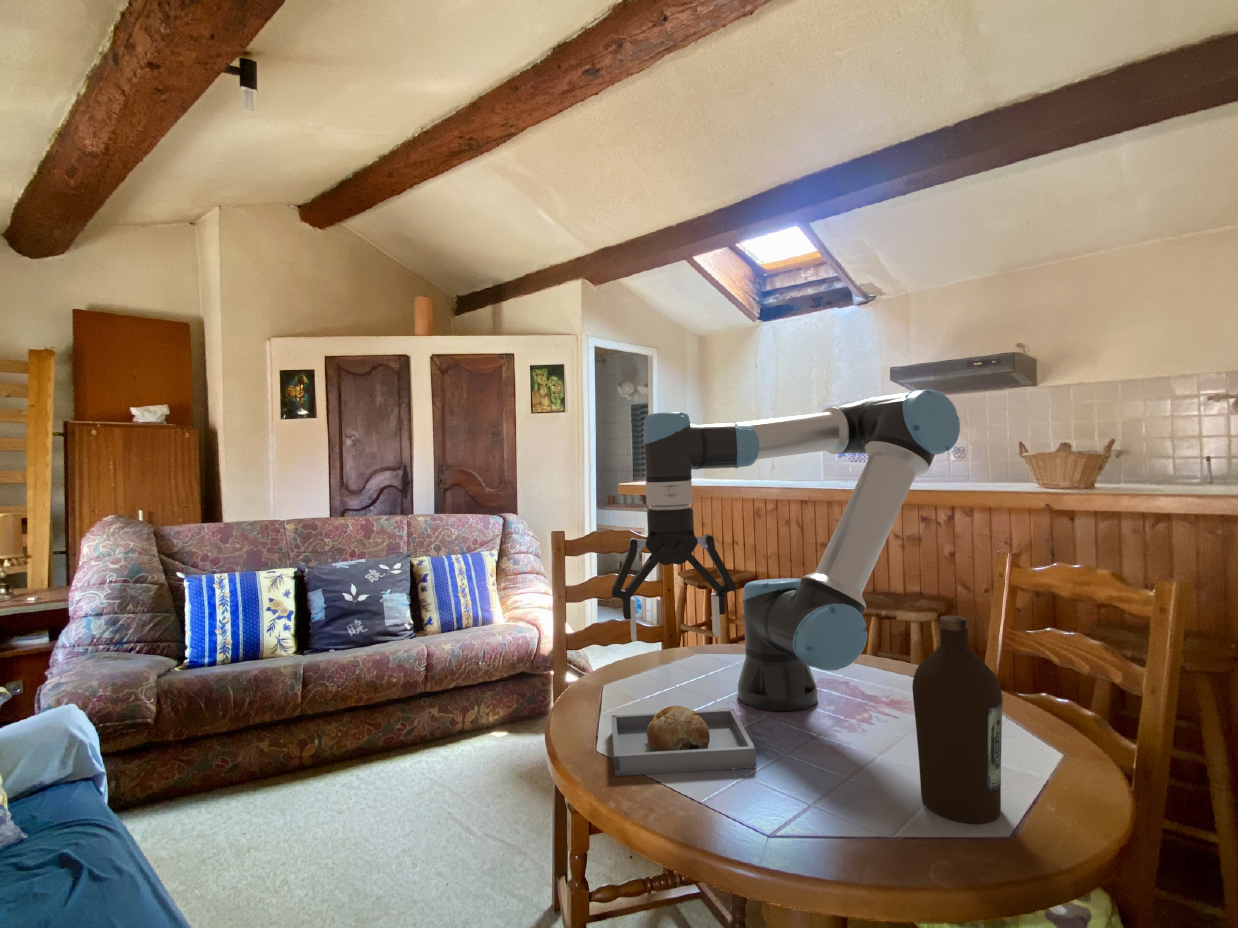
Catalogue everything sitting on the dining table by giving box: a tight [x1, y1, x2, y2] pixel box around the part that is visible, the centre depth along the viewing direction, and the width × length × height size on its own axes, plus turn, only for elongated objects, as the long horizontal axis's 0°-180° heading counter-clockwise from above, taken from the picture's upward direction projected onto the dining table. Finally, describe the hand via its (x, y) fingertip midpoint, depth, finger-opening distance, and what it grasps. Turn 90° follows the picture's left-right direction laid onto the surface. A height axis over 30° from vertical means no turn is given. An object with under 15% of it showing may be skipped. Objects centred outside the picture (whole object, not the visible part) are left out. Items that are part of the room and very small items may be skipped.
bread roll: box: [647, 705, 710, 752], centre depth 105 cm, size 10×10×8 cm
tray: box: [611, 708, 757, 777], centre depth 106 cm, size 22×16×3 cm
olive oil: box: [911, 615, 1004, 824], centre depth 86 cm, size 11×11×25 cm
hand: (675, 636), depth 105 cm, fingers open, 13 cm apart
